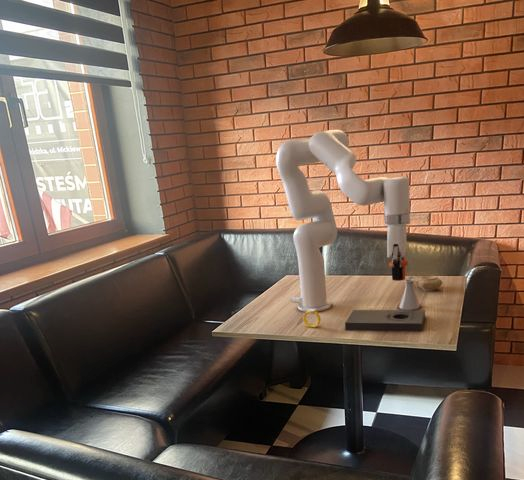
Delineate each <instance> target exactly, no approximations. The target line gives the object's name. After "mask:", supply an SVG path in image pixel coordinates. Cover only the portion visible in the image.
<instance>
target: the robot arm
mask: <svg viewBox="0 0 524 480" xmlns="http://www.w3.org/2000/svg"><path fill="white" fill-rule="evenodd" d="M349 148H350V139H349V136H348V135H347V133H345V132H344V131H342V130H341V129H329V130H320V131H317V132H315V133H314V134H313V135H312V136H311V137H305V138H294V139H291V140H287V141H285V142H283V143H282V144H281V145H279V147H278V149H277V152H276V154H275V165H276V170H277V172H278V175H279V177H280V179H281V182H282V185H283V188H284V193H285V196H286V200H287V205H288V208H289V211H290V214H291V216H292V218H293V219H294V220H296V221H304V220H310V219H312V220H313V221H310V222H306V223H302V224H300V225H299V226H297V227H296V228H295V230H294V232H293V236H292V237H293V238H292V239H293V244H294V247H295V251H296V256H297V264H298V277H299V287H300V295H299V296H291V297H290V302H291V303H292V304H298V305H297V309H298V310H299V311H300V312H304V313H305V312H307V310H308V309H315V310H316V312H317V313H319V312H323V311H327V310H328V309H330V308H332V303H331V301H329V300H328V299H327V285H326V284H327V283H326V270H325V269H326V268H325V259H324V256H323V254H322V252H321V251H320V248H321V247H326V246H329V245H331V244H333V243H334V242H335V241H336V239H337V237H338V227H337V223H336V218H335V214H334V211H333V206H332V203H331V199H330V198H329V196H328V195H327V194H326V193H325V192H324V191H323V190H320V189H313V190H310V187H309V183H308V179H307V177H306V175H305V173H304V172H303V171H302V170H301V169H300V166H302V165H309V164H310V165H311V164H316V163H322V164H323V165H324V166H325V167H326V168H327V169H329V170H330V171H331V172H332V173H333V174H334V175H336V176H335V177H336V182H337V185H338V187H339V189H340V191H341V192H342V193H343V194H344V195H345V196H346V197H347V198H348V199H350V200H351V201H352V202H353V203H355V204H356V205H358V206H363V207H364V206H369V205H373V204H378V203H383V210H384V226H385V227H387V237H386V239H387V240H386V241H387V242H386V243H387V244H386V245H387V247H386V248H387V249H386V250H387V251H386V253H387V254H386V255H387V256H386V257H387V259H391V261H392V267H391V279H392V281H394V280H401V281H403V280H402V279H403V267H402V260H405V256H406V253H407V241H408V240H407V225H410V224H411V206H410V205H411V204H410V203H411V202H410V201H411V199H410V179H409V178H408V177H406V176H396V177H385V176H378V177H372V178H367V179H363V178H362V177H360V176H359V175H358V174H357V173H355V171H353V170H354V169H353V168H354V167H355V165H356V162H357V156H356V154H355V153H354V151H352V150H351V149H349ZM399 260H400V261H399Z"/></svg>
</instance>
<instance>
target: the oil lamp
mask: <svg viewBox="0 0 524 480" xmlns="http://www.w3.org/2000/svg"><path fill="white" fill-rule="evenodd" d="M407 279H413V280H414V282H413V286H416V287H418V288H420V289H422V291H425V292H433V291H436V290H437V289H438V288H440V287H441V286H442V285H443V281H442V279H441V278H439V277H438V276H436V275H425V276H422V277H418V276H417V275H416V276H415V275H414V276H408V277H406V280H407Z"/></svg>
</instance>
